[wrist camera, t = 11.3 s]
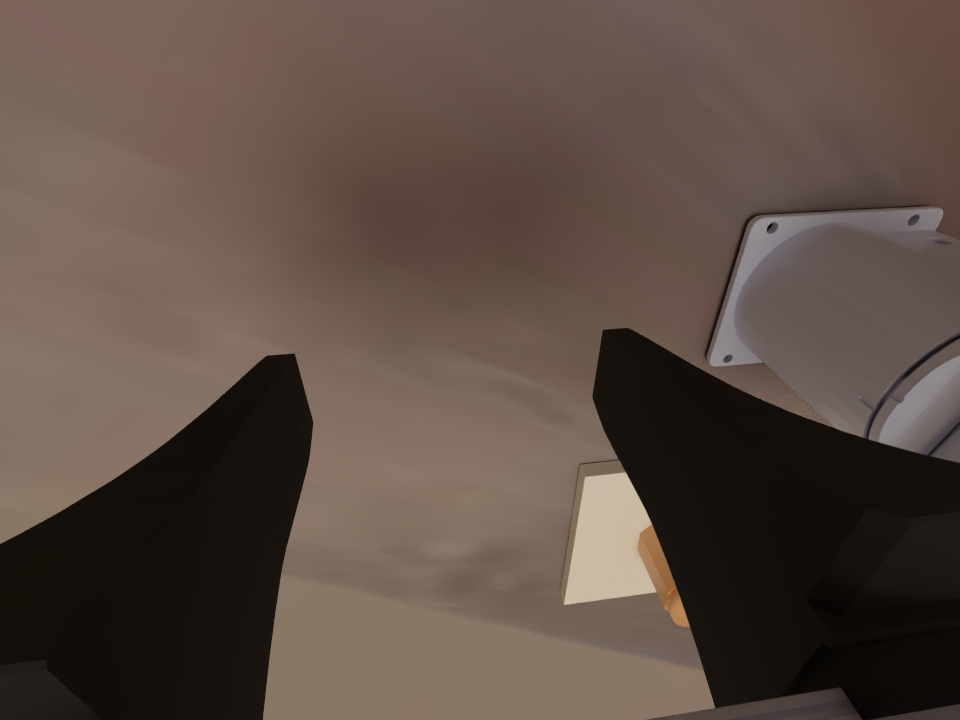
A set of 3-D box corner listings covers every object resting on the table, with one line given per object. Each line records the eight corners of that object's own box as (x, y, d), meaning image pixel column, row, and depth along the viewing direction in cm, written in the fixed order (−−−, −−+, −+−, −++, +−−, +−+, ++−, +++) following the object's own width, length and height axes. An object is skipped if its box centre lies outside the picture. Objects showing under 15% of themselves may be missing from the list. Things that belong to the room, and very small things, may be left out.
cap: (677, 505, 31) (719, 576, 27) (716, 527, 33) (760, 596, 29) (625, 544, 33) (656, 616, 29) (665, 563, 35) (700, 633, 31)
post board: (792, 441, 31) (849, 501, 27) (730, 569, 39) (767, 630, 35) (580, 464, 29) (607, 531, 25) (560, 592, 37) (579, 658, 33)
